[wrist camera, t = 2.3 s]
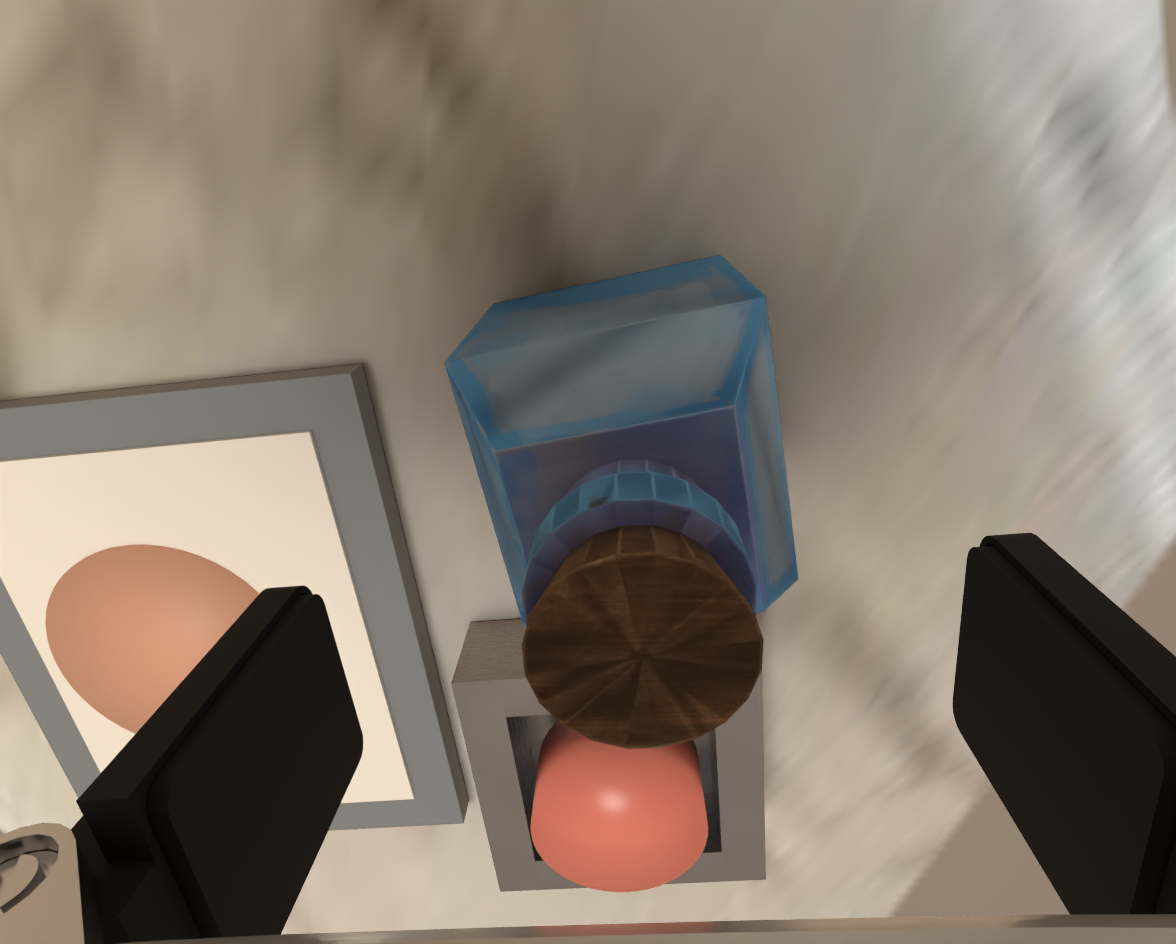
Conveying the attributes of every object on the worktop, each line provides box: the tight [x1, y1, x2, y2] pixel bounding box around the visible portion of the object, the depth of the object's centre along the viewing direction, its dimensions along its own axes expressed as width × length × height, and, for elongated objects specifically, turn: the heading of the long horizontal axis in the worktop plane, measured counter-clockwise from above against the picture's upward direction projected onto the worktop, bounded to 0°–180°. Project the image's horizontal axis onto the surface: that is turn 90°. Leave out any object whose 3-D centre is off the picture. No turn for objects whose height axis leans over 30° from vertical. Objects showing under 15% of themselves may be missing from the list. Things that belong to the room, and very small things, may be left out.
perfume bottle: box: [445, 255, 798, 749], centre depth 15 cm, size 6×6×12 cm
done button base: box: [451, 619, 766, 892], centre depth 24 cm, size 9×9×3 cm
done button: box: [531, 721, 708, 892], centre depth 22 cm, size 5×5×3 cm
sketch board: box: [0, 364, 469, 830], centre depth 24 cm, size 17×14×1 cm
